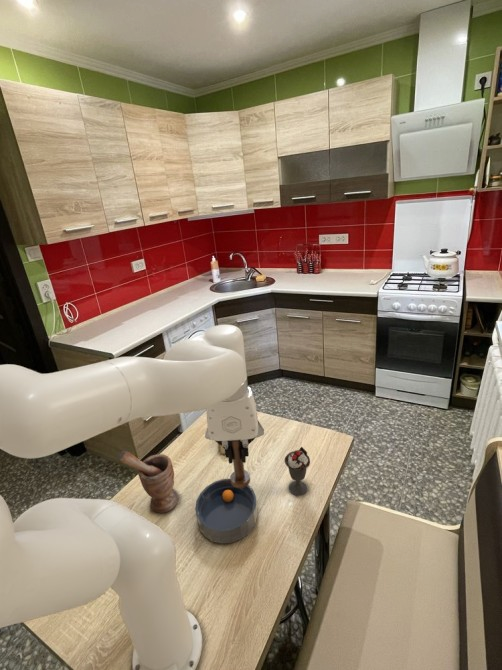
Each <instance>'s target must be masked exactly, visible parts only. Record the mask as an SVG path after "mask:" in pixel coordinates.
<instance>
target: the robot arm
mask: <svg viewBox="0 0 502 670" xmlns="http://www.w3.org/2000/svg"><path fill="white" fill-rule="evenodd" d="M246 362H247V361H246V351H245V342H244V334H243V331H242V330H241V329H240V328H239V327H238V326H236V325H233V324H217V325H213V326H211V327H209V328H207V329H206V330H205V331H204V332H203V333H201V334H199V335H195V336H193V337H189V338H186V339H183V340H181V341H178V342H176V343H174V344H172V346H170V347H169V348H168V350H167V351H166V353H165V354H164V356H163V359H162V358H153V357H145V356H119V357H115V358H111V359H107V360H102V361H99V362H95V363H91V364H86V365H82V366H78V367H73V368H68V369H63V370H59V371H54V372H49V373H41V372H38V371H36V370H33V369H31V368H27V367H24V366H21V365H19V364H18V365H17V364H11V363H10V364H8V363H6V364H0V450H1V451H3V452H5V453H7V454H9V455H12V456H14V457H17V458H22V459H40V458H43V457H48V456H51V455H54V454H56V453H58V452H61V451H64V450H66V449H68V448H70V447H73V446H75V445H78V444H80V443H83V442H86V441H87V440H89V439H91V438H93V437H96V436H98V435H100V434H101V435H102V434H104V433H105V432H107V431H111V430H113V429H115V428H118V427H119V426H122V425H124V424H127V423H130V422H131V421H134V420H137V419H141V418H150V417H151V418H153V417H154V418H155V417H163V416H173V415H176V414H177V415H179V414H186V413H194V412H199V411H203V410H205V411H206V423H207V428H206V430H205V435H204V438H205V439H206V440H211V441H214V442H215V443H217V444H218V445H219V444H220V445H222V448H223V449H225V454H224V455H225V459H227V460H228V464H229V465H230V464H233V457H232V449H231V442H230V440H241V456H242V462H243V464H245V463H247V462H246V461H247V460H246V459H247V457H249V455H250V453H249V452H250V451H249V445H250V444H251V443H252V442H254V440H255V439H257V438H259V437H262V436H264V435H265V429H264V427H263V426H262V424H261V423H260V421H259V419H258V412H257V411H258V410H257V405H256V400H255V396H254V393H253V390H252V388H251V387H250V386H249V383H248V373H247V363H246ZM176 562H177V549H176V545H175V542H174V540H173V539H172V537H171V536H170V535H169V534H168V533H167V531H165V530H164V529H163V528H161V527H160V526H159V525H157V524H155V523H154V522H151V521H150V520H148V519H147V518H145V517H144V516H142V515H140V514H138V513H136V512H134V511H133V510H131V509H130V508H129V507H126V506H124V505H123V504H121V503H119V502H117V501H115V500H112V499H111V500H110V499H103V498H98V499H97V498H78V497H77V498H74V497H73V498H72V497H57V498H55V497H54V498H50V499H46V500H44V501H43V500H42V501H40V502H39V503H36V504H34V505H33V506H31V507H29V508H28V509H26V510H25V511H24V512H23V513H22V514H20V515H19V516H18V517H17V518H16V519H15V520H14V521H13V517H12V514H11V511H10V508H9V505H8V504H7V502H6V500H5V499H4V497H3V496H2V495H1V494H0V629H2V628H6V627H9V626H12V625H16V624H21V623H26V622H29V621H33V620H38V619H40V618H44V617H47V616H52V615H55V614H58V613H63V612H65V611H69V610H72V609H75V608H76V609H77V608H79V607H82V606H85V605H88V604H90V603H91V602H94V601H96V600H97V599H99V598H100V597H102V596H103V595H104V594H106V592H108V590H109V589H111V590H112V591H113V592H114V593H115V594H116V595H117V596H118V602H117V603H118V610H119V614H120V616H121V619H122V621H123V624H124V625H125V628H126V631H127V633H128V635H129V639H130V640H131V643H132V645H133V651H132V659H131V660H132V661H131V665H132V670H196V669H197V667H198V665H199V662H200V660H201V656H202V651H203V635H202V629H201V627H200V624H199V622H198V620H197V618H196V617H195V616H194V615H193V614H192V612H190V611H189V610H187V608H186V604H185V600H184V597H183V593H182V590H181V589H182V588H181V587H180V584H179V580H178V579H179V578H178V575H177V569H176V568H177V567H176V566H177V565H176V564H177V563H176Z"/></svg>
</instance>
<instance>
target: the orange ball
mask: <svg viewBox="0 0 502 670" xmlns="http://www.w3.org/2000/svg"><path fill="white" fill-rule="evenodd" d="M233 497H234V494H233V492H232V491H231V490H225V491H224V492H223V494H222V498H223V500H224V501H225V502H230V501H232V499H233Z"/></svg>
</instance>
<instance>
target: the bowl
mask: <svg viewBox="0 0 502 670" xmlns="http://www.w3.org/2000/svg"><path fill="white" fill-rule="evenodd" d="M225 490H231V491H232V492H233V494H234V497H233V499H232V501H230V502H225V501H224V500H223V498H222V494H223V492H224V491H225ZM256 495H257V494H256V493H255V491H254V488H252V487H251V485H250V484H248V485H247V486H246V487H244V488H235V487H234V486H232V484H231V479H230V478H221V479H219V480H215V481H213V482H212V483H210V484H208V485H207V486H206V487H205V488H204V489H203V490H201V492H200V493H199V495H198V497H197V499H196V501H195V506H194V507H195V509H194V510H195V515H196V519H197V524H198V529H199V530H200V532H201V533H202V535H203V537H205V538H206V539H207V540H210V541H211V542H213V543H218V544H232V543H236V542H238V541H241V540H242V539H243V538H245V537H246V536H247V535H249V534H250V533H251V531H253V529H254V528H255V525H256V524H257V520H258V517H259V516H258V502H257V501H258V500H257V496H256Z"/></svg>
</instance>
